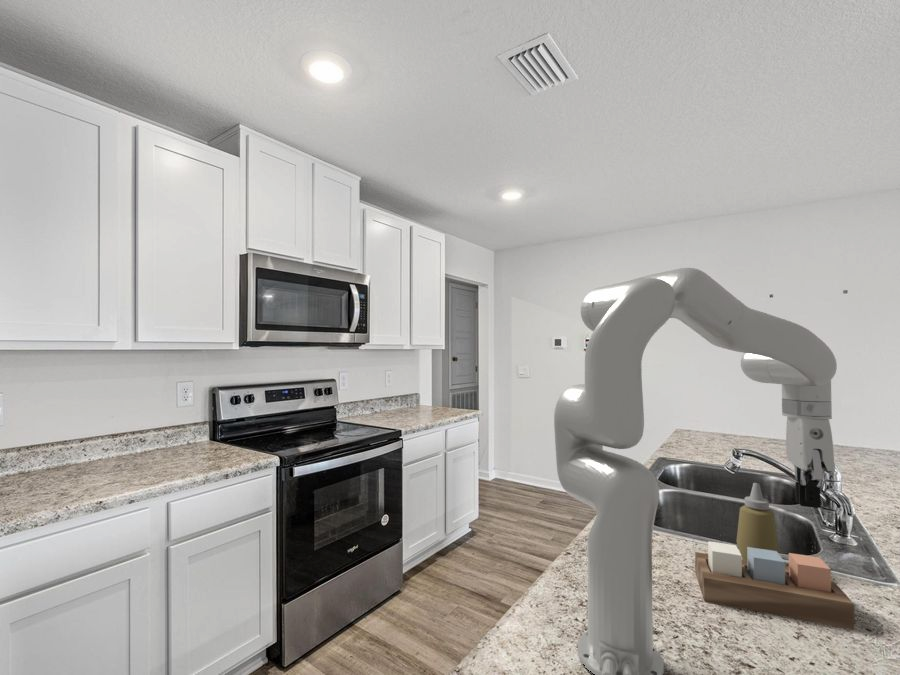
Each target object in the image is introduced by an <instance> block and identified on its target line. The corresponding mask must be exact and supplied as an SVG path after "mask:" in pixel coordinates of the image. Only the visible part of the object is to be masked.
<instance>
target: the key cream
mask: <svg viewBox="0 0 900 675" xmlns="http://www.w3.org/2000/svg"><path fill="white" fill-rule="evenodd" d="M707 554H708V567H709V570H710V572H713V573H719V574H725V575H731V576H737V577H742V555H741V553H740V551H739V548H738V545H735V544H730V543H725V542H724V543H721V542H717V541H707Z"/></svg>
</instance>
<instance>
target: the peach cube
mask: <svg viewBox="0 0 900 675" xmlns="http://www.w3.org/2000/svg"><path fill="white" fill-rule="evenodd" d="M788 566H789V578H790V579H791V581H792V582H793V583H794V585H795V586H796V587H802V588H808V589H814V590H820V591H826V592H831V579H832V569H831V567H829V565H828V564H826V562H825V561H824V560H823V559H822V558H821V557H820V556H812V555H806V554H799V553H791V552H789V553H788Z"/></svg>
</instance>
